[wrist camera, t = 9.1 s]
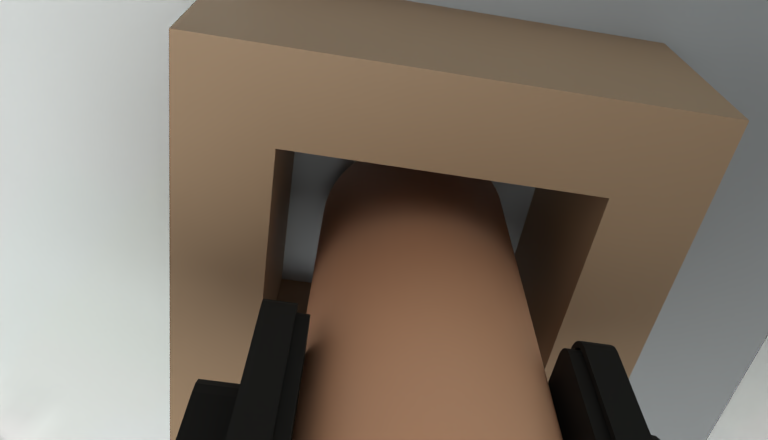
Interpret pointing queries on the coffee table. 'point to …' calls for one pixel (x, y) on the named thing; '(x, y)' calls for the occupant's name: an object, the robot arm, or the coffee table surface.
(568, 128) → the socket board
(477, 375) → the peg
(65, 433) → the coffee table surface
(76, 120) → the coffee table surface
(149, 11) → the coffee table surface
